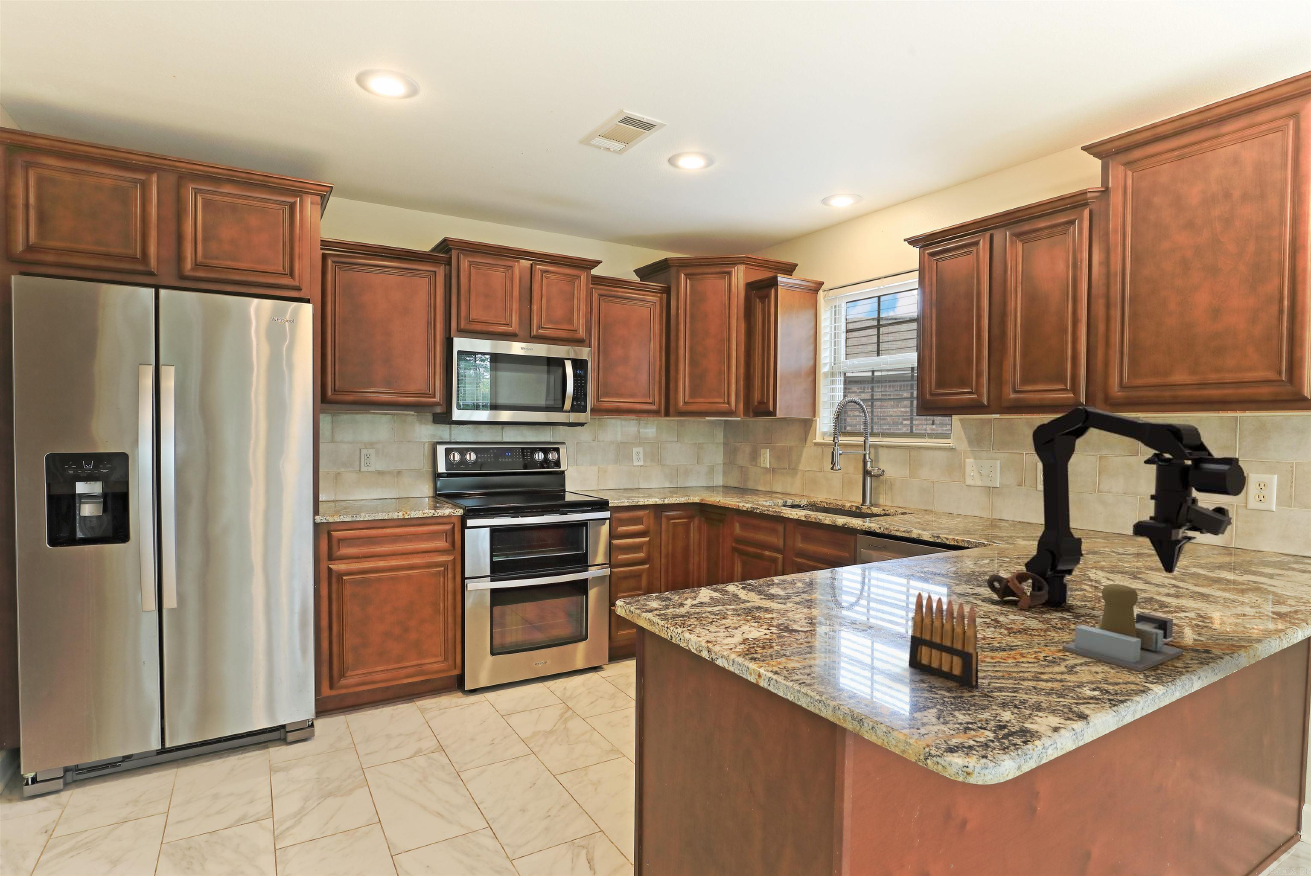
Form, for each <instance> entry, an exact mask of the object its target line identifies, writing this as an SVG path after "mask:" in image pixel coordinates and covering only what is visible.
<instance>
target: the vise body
mask: <svg viewBox="0 0 1311 876" xmlns="http://www.w3.org/2000/svg"><path fill="white" fill-rule="evenodd" d="M1173 641H1174V638H1173V637H1172V638H1169V639H1167V640H1166V639H1163V649H1162V650H1160V651H1153V650H1149V649H1145V648H1141V639H1139V638H1135V637H1130V636H1126V635H1122V634H1118V633H1114V632H1110V631H1106V630H1101V629H1100V628H1097V627H1092V626H1088V625H1084V624H1081V625H1078V626H1075V627H1074V641H1073V642H1069V643H1066V644H1063V645H1062V647H1061V649H1062V651H1065V652H1067V653H1071V654H1075V655H1079V656H1081V657H1085V658H1088V659H1094V660H1097V661H1100V662H1103V663H1108V664H1111V665H1115V666H1118V667H1123V668H1126V669H1130V670H1133V671H1136V672H1140V673H1141V672H1143V671H1146V670H1148V669H1150V668H1153V667H1155V666H1157V665H1160V664H1163V663H1165V662H1167V661H1170V660H1172V659H1174V658H1177V657H1180V656H1182V655H1183V653H1184V649H1182V648H1177V647H1174V646H1170V645H1167V644H1166V643H1169V642H1173Z"/></svg>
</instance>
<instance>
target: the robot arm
mask: <svg viewBox="0 0 1311 876" xmlns="http://www.w3.org/2000/svg"><path fill="white" fill-rule="evenodd" d="M1091 429H1095V430H1099V431H1103V432H1106V433H1110V434H1114V435H1118V436H1121V437H1124V438H1129V439H1132V440H1135V441H1137V442H1139V443H1140V444H1142V445H1143V446H1145V447H1146V448H1149V449H1151V450H1152V451H1155V452H1153V454H1152V455H1150V456H1149V457H1148V458H1146V459H1145V460H1144V461H1143V464H1144V465H1150V466H1151V465H1153V466H1155V477H1154V479H1155V480H1154V481H1155V482H1154V494H1153V493H1152V494H1150V495H1149V500H1150V501H1153V502H1154V503H1153V515H1149V517H1148V519H1142V520H1138V521H1136V522H1135V523H1133V525H1132V536H1136V537H1142V538H1147V539H1148V540H1149V543H1150V544H1151V546H1152V548H1153V549H1154V552H1155V554H1156V556H1157V557H1158V560H1159V562H1160V563H1161V566H1162V568H1163V570H1164V572H1165V573H1167V574H1173V573H1175V570H1176V568H1177V565H1178V563H1179V561H1180V557H1181V555H1182V553H1183V551H1184V548H1185V546H1186V545H1188V544H1190V543H1191V542H1192V541H1194V540H1196V539H1197V537H1196V536H1191V535H1190V536H1189V532H1192V533H1193V532H1194V533H1195V532H1196V533H1199V534H1200V535H1206V534H1210V535H1212V536H1217V537H1218V536H1220V535H1223V536H1224V535H1225V533H1226V531H1227V529H1228V528H1229V526H1231V525H1232V519H1233V517H1231V516H1230V510H1229V508H1226V507H1224V506H1220V505H1217V506H1215V507H1214V508H1212V509H1210V508H1208V507H1203V506H1201V505H1199V498H1197V496H1193V489H1194V491H1195V492H1197V493H1199V494H1208V495H1218V496H1219V495H1220V496H1221V495H1222V496H1231V497H1237V496H1240V495H1241V494H1242V493H1243V492H1244V489H1245V488H1246V484H1247V483H1246V482H1247V476H1246V475H1245V471H1244V469H1243V467H1242V466H1241V465H1240V458H1239V457H1234V456H1223V457H1217V456H1216V457H1215V456H1214V454H1213V453H1212V452H1211V450H1210V449H1209V448H1208V446H1207V445H1206V444H1205V442H1204V441H1203V440H1202V435H1201V433H1200V431H1199V428H1198V427H1196V426H1195V425H1193V424H1189V423H1178V422H1177V423H1173V422H1159V421H1157V422H1156V421H1149V420H1148V421H1147V420H1145V419H1144V420H1143V419H1139V418H1135V417H1131V416H1128V415H1127V416H1126V415H1124V414H1118V413H1114V412H1110V411H1106V410H1101V409H1099V408H1096V407H1094V406H1093V407H1092V406H1077V407H1075V408H1073V409H1072V410H1070V411H1068V413H1065V414H1062V415H1060V416H1058V417H1055V418H1054V419H1050V420H1048V421H1047V422H1045V423H1040V424H1038V426H1036V428H1035V429H1033V431H1032V435H1031V437H1032V438H1031V439H1032V442H1033V444H1032V445H1033V449H1034V450H1033V451H1034V452H1035V455H1036V456H1037V458H1038V459H1039V461H1040V463H1041V466H1042V494H1043V495H1042V496H1043V521H1044V522H1043V523H1044V526H1043V530H1042V532H1041V534H1040V536H1039V538H1038V539H1037V543H1036V552H1035V554H1034V555H1033V556H1032V557H1031V558H1030V559H1028V561H1026V562H1025V563H1024V568H1025V572H1029V573H1032V574H1035V575H1037V576H1039V577H1040V578H1042V579H1043V580H1044V581H1045V582H1046V584H1047V585H1048V598H1047V600H1045V602H1044V603H1042V605H1048V606H1054V607H1059V608H1062V607H1064V605H1065V604H1067V603H1068V601H1069V593H1070V592H1069V590H1070V588H1069V587H1070V583H1069V582H1067V576H1070V577H1071V576H1073V573H1074V571H1075V568H1076V567H1078V565H1080V563H1081V557H1084V554H1083V548H1082V545H1083V539H1082V537H1075V535H1074V533H1073V532H1072V530H1071V515H1070V512H1071V511H1070V488H1069V486H1070V485H1069V481H1070V480H1069V462H1070V461H1071V458H1072V457H1073V455H1074V453H1075V451H1076V442H1077V441H1078V440H1079V439H1081V438H1082V437H1084V436H1086V434H1088V432H1089V431H1090V430H1091ZM1166 455H1168V456H1166ZM1186 461H1187V462H1188V461H1190V462H1191V463H1187V462H1186ZM1030 589H1031V590H1030V591H1034V592H1041V591H1043V590H1044V589H1043V587H1040V586H1037V585H1035V582H1034V581H1033V580H1032V579H1031V587H1030Z"/></svg>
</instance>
